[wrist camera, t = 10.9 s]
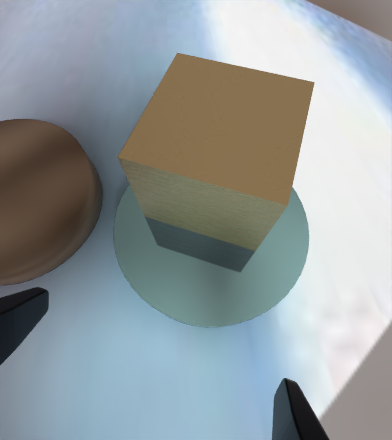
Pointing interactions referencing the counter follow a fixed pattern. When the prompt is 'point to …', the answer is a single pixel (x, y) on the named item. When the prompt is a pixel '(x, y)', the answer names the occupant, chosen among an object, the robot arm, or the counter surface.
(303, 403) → the robot arm
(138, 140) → the block
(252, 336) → the counter surface
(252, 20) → the counter surface
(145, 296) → the stand
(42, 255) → the stand
